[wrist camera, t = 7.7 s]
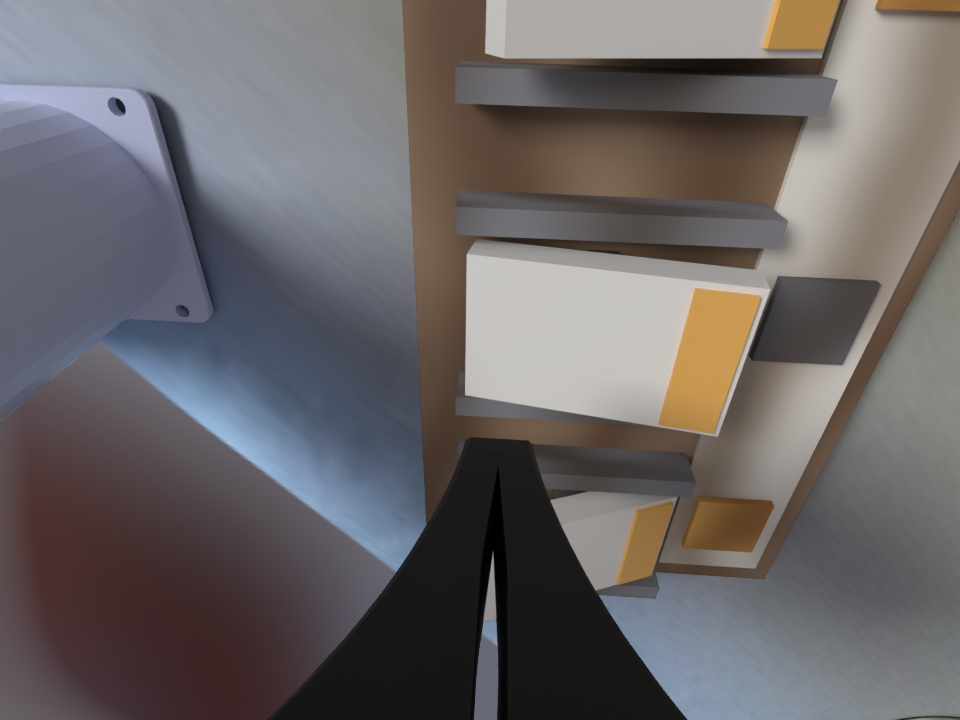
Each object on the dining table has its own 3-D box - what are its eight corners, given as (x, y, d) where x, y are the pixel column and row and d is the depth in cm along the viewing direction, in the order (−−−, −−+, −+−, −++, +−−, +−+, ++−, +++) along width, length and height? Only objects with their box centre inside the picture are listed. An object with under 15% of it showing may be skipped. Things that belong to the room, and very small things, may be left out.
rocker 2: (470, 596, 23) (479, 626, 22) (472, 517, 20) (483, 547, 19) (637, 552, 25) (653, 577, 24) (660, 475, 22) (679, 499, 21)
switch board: (432, 531, 27) (423, 587, 25) (400, -309, 12) (366, -398, 9) (752, 552, 27) (777, 610, 24) (1165, -302, 11) (1359, -393, 9)
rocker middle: (473, 375, 19) (463, 398, 18) (476, 238, 16) (465, 256, 15) (712, 412, 17) (718, 440, 16) (761, 270, 15) (771, 291, 14)
